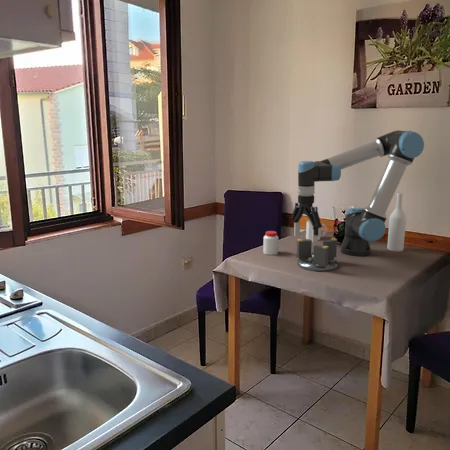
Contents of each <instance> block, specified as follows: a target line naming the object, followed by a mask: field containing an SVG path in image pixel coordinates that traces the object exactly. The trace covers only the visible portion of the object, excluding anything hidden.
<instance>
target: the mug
mask: <svg viewBox="0 0 450 450" xmlns="http://www.w3.org/2000/svg"><path fill="white" fill-rule="evenodd" d="M321 225H322V227H324V230H323V232H322V227H321V228H319V229H318V241H320V240H321V235H323V236H326V234H327V230H328V227H327V226H326V225H325V223H321ZM315 226H316V225H315ZM305 227H306V230H305V240H308V239H310V240H311V241H312V228H313V226H312V224H311V221H310V220H306V226H305ZM321 233H322V234H321Z"/></svg>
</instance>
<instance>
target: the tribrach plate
mask: <svg viewBox="0 0 450 450" xmlns="http://www.w3.org/2000/svg"><path fill="white" fill-rule="evenodd" d="M297 266H298V268H301V269H303V270H306V271H311V272H330V271H334V270H337V269H338V268H339V261H338V260H336V259H335V258H334V260H328V265H327V266H325V267H322V268H320V267H316V266H315V264H314V263H313V252H312V251H311V258H308V260H300V259H299V258H297Z"/></svg>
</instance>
